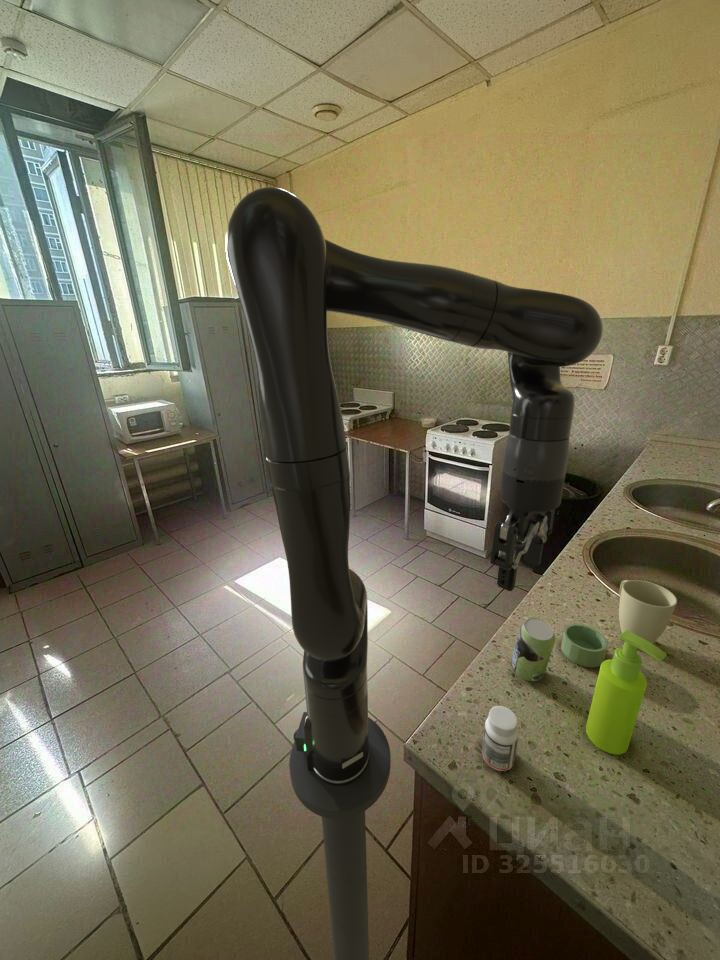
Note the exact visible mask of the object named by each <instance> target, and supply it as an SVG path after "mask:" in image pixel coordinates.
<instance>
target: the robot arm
mask: <svg viewBox="0 0 720 960" xmlns="http://www.w3.org/2000/svg"><path fill="white" fill-rule="evenodd" d="M226 227H227V229H226V231H225V243H224V245H225V252H226V260H227V263H228V266H229V270H230V273H231V277H232V280H233V283H234V286H235V291H236V293H237V296H238V299H239V303H240V308H241V310H242V314H243V318H244V321H245V324H246V328H247V332H248V333H247V334H248V337H249V341H250V344H251V349H252V353H253V358H254V365H255V371H256V381H257V383H256V384H257V396H258V407H259V408H258V409H259V418H260V424H261V432H262V439H263V447H264V448H263V449H264V455H265V461H266V465H267V467H266V468H267V472H268V478H269V482H270V488H271V492H272V495H273V499H274V505H275V510H276V515H277V521H278V525H279V532H280V536H281V540H282V545H283V549H284V554H285V558H286V561H287V562H286V563H287V570H288V571H287V572H288V579H289V580H288V581H289V595H290V596H289V597H290V611H291V612H290V613H291V625H292V626H291V627H292V632H293V635H294V637H295V639H296V642H297V643H298V645H299V646H300V647H301V648H302V650H303V656H302V675H303V685H304V695H305V705H306V711H303V713H302V715H301V718H300V721H299V725H298V728H297V729H296V730H295V731H294V733H293V740H294V741H295V742H296V749H297V751H302V752H306V758H307V769H308V770H309V771H313V772H315V774H316V775H317V777H318V778H319V779H320V780H322V781H323V782H325V783H327V784H330V785H334V786H342V785H347V784H350V783H352V782H354V781H355V780H357V779H358V778H359V777H360V776H361V775H362V774H363V773H364V771H365V769H366V767H367V765H368V762H369V741H368V717H369V699H368V698H369V697H368V695H369V694H368V651H369V649H368V647H369V633H368V631H369V629H368V627H369V625H368V624H369V621H368V619H369V618H368V616H369V615H368V611H369V609H368V592H367V589H366V586H365V583H364V582H363V580H362V579H361V577H360V576H359V575H358V573H356V572H355V570H352V569H351V568H350V567H349V566H350V565H349V541H350V529H351V527H350V526H351V505H352V502H351V501H352V497H351V495H352V493H351V492H352V490H351V489H352V488H351V471H350V470H351V469H350V459H349V452H348V451H349V450H348V442H347V437H346V430H345V424H344V418H343V412H342V408H341V402H340V398H339V393H338V389H337V385H336V382H335V376H334V372H333V368H332V363H331V357H330V350H329V339H328V313H327V312H330V313H337V314H343V315H349V316H355V317H359V318H364V319H370V320H373V321H378V322H381V323H384V324H387V325H391V326H395V327H398V328H402V329H406V330H409V331H412V332H415V333H418V334H423V335H426V336H429V337H433V338H437V339H440V340H444V341H448V342H451V343H455V344H458V345H462V346H467V347H470V348H476V349H482V350H494V351H496V350H497V351H502V352H503V351H504V352H507V360H508V372H509V382H510V388H511V394H512V406H511V411H510V421H509V429H508V436H507V441H506V444H505V449H504V457H503V467H502V475H501V483H500V491H499V492H500V493H499V498H500V500H501V501H502V502H503V504H506V505H507V507H508V508H509V513H508V514H507V516H506V519H505V522H502V521H497V522H496V523H495V525H494V532H493V539H492V545H491V546H492V547H491V554H490V561H489V562H490V564H491V565H494V566H497V567H498V571H497V579H496V584H497V586H498V588H500V589H503V590H505V591H508V592H513V590H514V589H515V588H516V582H517V574H518V566H519V563H520V560H521V557H522V555H523V556H524V557H523V561H524V562H525V563H526V564H529V565H532V566H534V567H538V566H539V565H540V564H541V562H542V555H543V549H544V544H545V543H546V542H547V539H548V536H549V535H550V536H551V534H552V533H553V526H554V519H555V512H556V510H557V509H559V507H560V506H561V504H562V498H563V493H564V487H565V480H566V474H567V469H568V468H567V467H568V462H569V455H570V437H571V430H572V424H573V418H574V413H575V412H574V411H575V404H576V403H575V401H576V400H575V395H574V393H573V392H572V391H571V390H570V389H569V388H567V387H566V386H564V384H563V383H562V380H561V368H565V367H569V366H575V365H576V364H577V365H578V364H579V363H581V362H582V361H585V360H586V359H588V358H589V357H590V356H591V355H593V353H594V352H595V351H596V349H597V348H598V346H599V344H600V343H601V340H602V338H603V329H604V328H603V321H602V318H601V315H600V314H599V312H598V310H597V309H596V308H595V307H594V305H592V304H590V303H589V302H587V301H586V300H584V299H581V298H580V297H576V296H573V295H570V294H569V295H568V294H565V293H558V292H552V291H546V290H539V289H533V288H522V287H516V286H512V285H509V284H505V283H502V282H500V281H497V280H495V279H491V278H488V277H484V276H481V275H478V274H474V273H471V272H468V271H465V270H460V269H456V268H452V267H448V266H442V265H435V264H427V263H417V262H407V261H398V260H391V259H385V258H380V257H377V256H376V257H375V256H372V255H367V254H364V253H360V252H357V251H354V250H351V249H348V248H346V247H343V246H341V245H339V244H336V243H334V242H332V241H331V240H328V239H326V238H325V235H324V232H323V230H322V227H321V225H320V224H319V221H318V220H317V218H316V216H315V214H314V213H313V212H312V210H311V209H310V208H309V207H308V205H306V204H305V203H304V201H302V199H300V198H299V197H297V196H296V195H295V194H293V193H291V192H289V191H287V190H286V189H283V188H279V187H275V186H265V187H260V188H256V189H254V190H252V191H250V192H248V194H246V195H245V196H243V197H242V198H241V199H240V200H239V202H238V203H237V204H236V206H235V207H234V209H233V211H232V214H231V215H230V218H229V221H228V224H227V226H226ZM517 542H519V543H521V544H518V543H517ZM294 741H293V742H294Z"/></svg>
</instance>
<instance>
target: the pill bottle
mask: <svg viewBox="0 0 720 960" xmlns="http://www.w3.org/2000/svg"><path fill="white" fill-rule="evenodd" d="M518 721H519V720H518V717H517V715H516V714H515V712H513V710H512V709H510V708H509V707H506V706H503V705H495V706H492V708H490V709H489V712H488V717H487V718H486V719H485V723H484V729H483V739H482V748H481V754H482V757H483V759H484V761H485V763H486V764H487V765H488V766H489V767H490V768H492V769H493V770H496V771H499V772H506V771H508V770H511V769H512V768H513V766H514V763H515V759H516V754H517V747H518V740H519V730H518V724H519V723H518Z"/></svg>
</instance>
